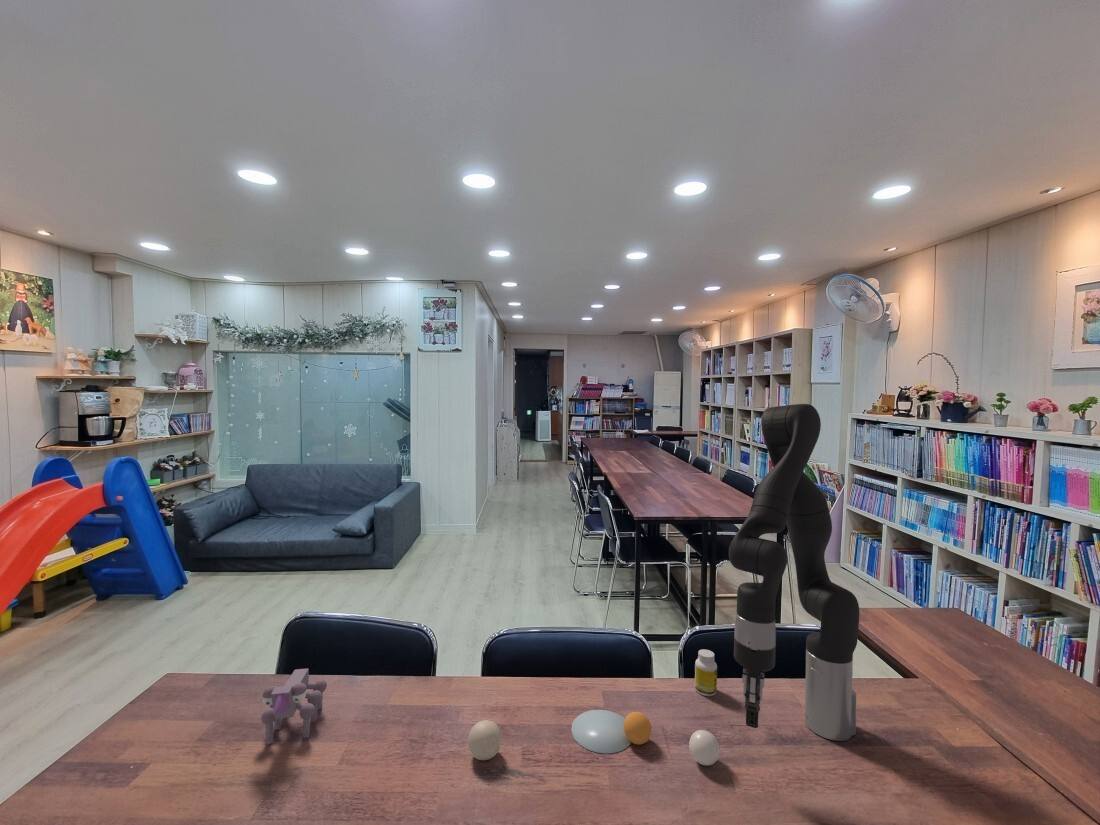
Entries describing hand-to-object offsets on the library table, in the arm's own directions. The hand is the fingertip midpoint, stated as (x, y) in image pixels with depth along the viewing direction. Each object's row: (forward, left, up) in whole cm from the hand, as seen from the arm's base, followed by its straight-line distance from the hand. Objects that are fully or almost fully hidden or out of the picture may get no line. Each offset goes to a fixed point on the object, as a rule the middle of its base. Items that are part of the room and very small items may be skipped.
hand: (751, 724), depth 93 cm
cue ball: (+8, -4, -7) cm, 11 cm away
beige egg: (+53, -10, -11) cm, 55 cm away
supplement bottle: (-3, -28, -11) cm, 30 cm away
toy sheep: (+96, -20, -11) cm, 98 cm away
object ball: (+20, -11, -7) cm, 24 cm away
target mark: (+27, -15, -10) cm, 33 cm away
